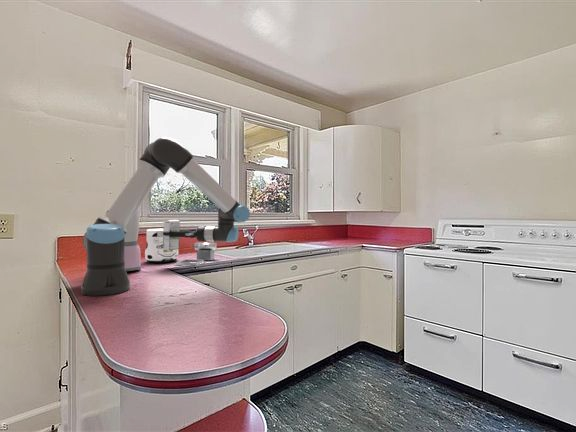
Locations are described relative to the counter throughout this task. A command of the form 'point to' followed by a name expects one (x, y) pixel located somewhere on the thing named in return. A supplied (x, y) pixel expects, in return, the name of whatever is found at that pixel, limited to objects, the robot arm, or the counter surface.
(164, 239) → the syrup box
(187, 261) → the steel flange
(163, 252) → the milk container
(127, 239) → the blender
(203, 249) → the pillow block with shaft stub
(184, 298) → the counter surface
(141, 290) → the counter surface
